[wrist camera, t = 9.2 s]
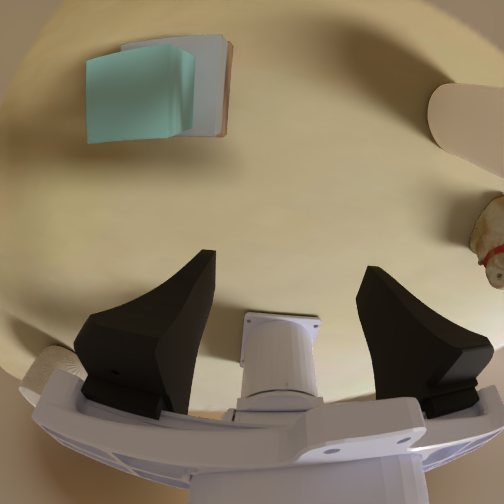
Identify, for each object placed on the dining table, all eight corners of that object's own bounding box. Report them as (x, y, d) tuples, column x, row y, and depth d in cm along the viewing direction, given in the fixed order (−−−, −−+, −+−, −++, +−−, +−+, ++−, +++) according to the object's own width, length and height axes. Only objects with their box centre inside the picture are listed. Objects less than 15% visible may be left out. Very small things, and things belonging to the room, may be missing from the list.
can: (414, 91, 16) (526, 106, 6) (465, 77, 14) (569, 93, 4) (436, 163, 19) (533, 224, 8) (482, 143, 17) (576, 190, 7)
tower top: (221, 132, 17) (214, 136, 15) (134, 132, 17) (118, 137, 15) (228, 42, 14) (222, 34, 12) (137, 49, 14) (121, 44, 12)
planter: (61, 372, 41) (41, 414, 31) (35, 330, 34) (6, 376, 25) (111, 389, 41) (93, 438, 31) (88, 347, 34) (59, 404, 25)
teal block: (193, 127, 15) (167, 138, 11) (126, 131, 15) (87, 144, 11) (195, 56, 13) (170, 43, 9) (127, 65, 13) (86, 60, 9)
